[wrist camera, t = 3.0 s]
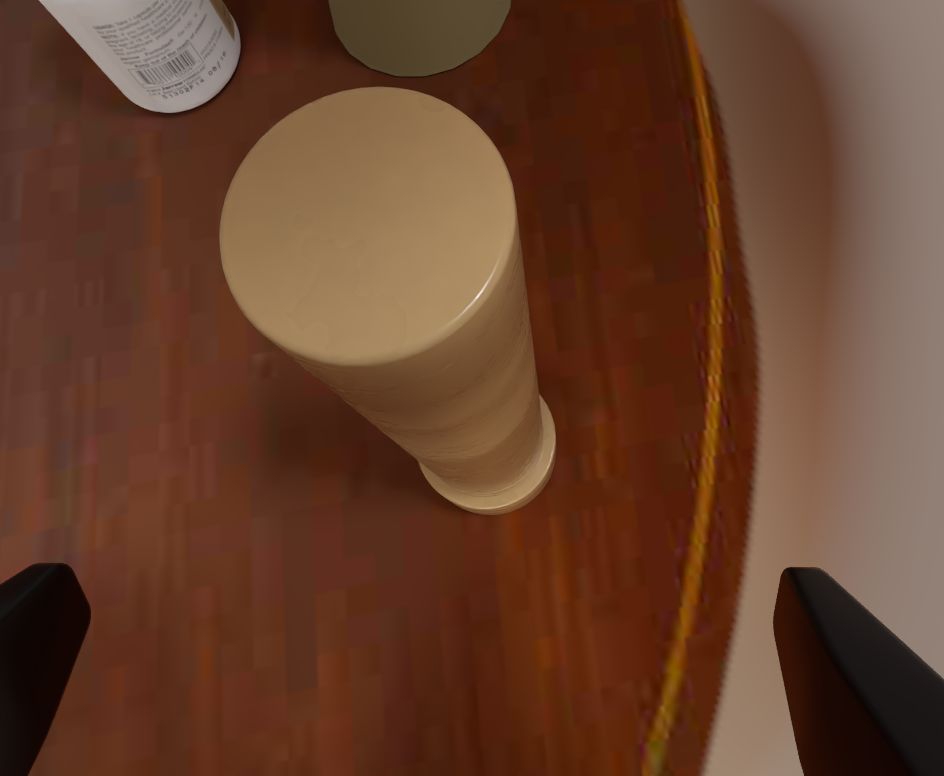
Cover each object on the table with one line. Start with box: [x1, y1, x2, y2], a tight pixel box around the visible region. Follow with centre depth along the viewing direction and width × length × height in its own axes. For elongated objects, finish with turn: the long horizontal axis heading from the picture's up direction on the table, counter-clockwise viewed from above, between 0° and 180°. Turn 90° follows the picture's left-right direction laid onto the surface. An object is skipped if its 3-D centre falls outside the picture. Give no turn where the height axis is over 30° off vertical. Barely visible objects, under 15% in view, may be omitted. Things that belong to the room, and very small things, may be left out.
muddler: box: [219, 87, 556, 515], centre depth 14 cm, size 4×4×14 cm
